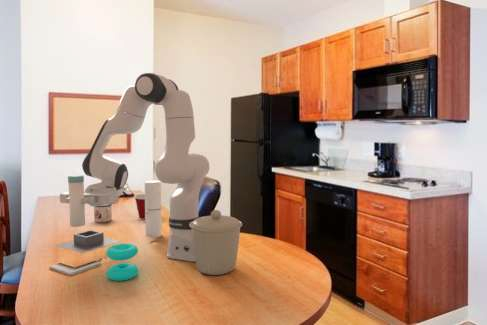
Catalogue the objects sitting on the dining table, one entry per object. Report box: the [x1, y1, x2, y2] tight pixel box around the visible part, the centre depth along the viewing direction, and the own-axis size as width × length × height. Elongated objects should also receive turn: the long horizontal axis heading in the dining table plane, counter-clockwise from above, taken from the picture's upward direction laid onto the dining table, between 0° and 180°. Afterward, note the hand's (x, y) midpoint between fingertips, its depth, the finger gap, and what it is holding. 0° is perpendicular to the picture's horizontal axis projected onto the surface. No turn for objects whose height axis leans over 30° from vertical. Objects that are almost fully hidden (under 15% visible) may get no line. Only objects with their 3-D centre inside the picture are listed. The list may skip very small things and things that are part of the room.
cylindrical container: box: [144, 180, 162, 238], centre depth 169 cm, size 7×7×25 cm
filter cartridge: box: [67, 174, 86, 228], centre depth 134 cm, size 5×5×18 cm
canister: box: [190, 209, 243, 276], centre depth 128 cm, size 18×18×21 cm
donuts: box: [105, 243, 139, 282], centre depth 122 cm, size 10×10×10 cm
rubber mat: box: [48, 260, 102, 276], centre depth 131 cm, size 12×12×1 cm
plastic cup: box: [134, 193, 145, 219], centre depth 206 cm, size 11×11×12 cm
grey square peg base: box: [56, 229, 121, 254], centre depth 153 cm, size 18×18×6 cm
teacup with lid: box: [93, 204, 113, 223], centre depth 196 cm, size 12×9×12 cm
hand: (75, 201), depth 133 cm, fingers closed on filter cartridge, 5 cm apart
